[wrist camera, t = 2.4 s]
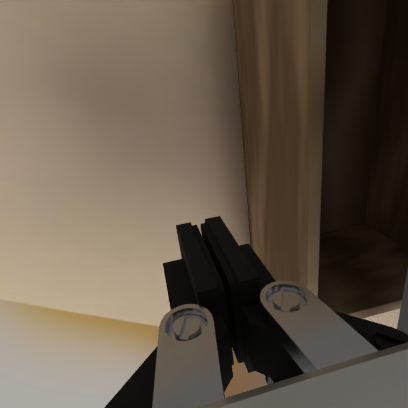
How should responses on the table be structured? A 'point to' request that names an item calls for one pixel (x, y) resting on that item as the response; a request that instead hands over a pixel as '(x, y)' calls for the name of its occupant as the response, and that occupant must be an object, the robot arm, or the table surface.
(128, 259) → the table surface
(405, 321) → the lid flap
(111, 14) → the table surface
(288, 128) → the wooden box
